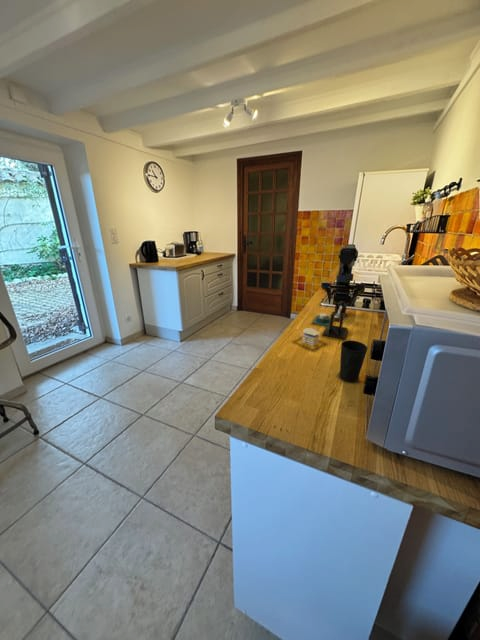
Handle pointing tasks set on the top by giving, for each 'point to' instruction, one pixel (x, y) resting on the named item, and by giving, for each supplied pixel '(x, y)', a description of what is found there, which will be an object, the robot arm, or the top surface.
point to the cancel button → (323, 316)
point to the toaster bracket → (335, 328)
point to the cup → (351, 360)
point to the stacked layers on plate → (310, 336)
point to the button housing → (322, 321)
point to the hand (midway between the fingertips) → (339, 304)
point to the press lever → (339, 311)
